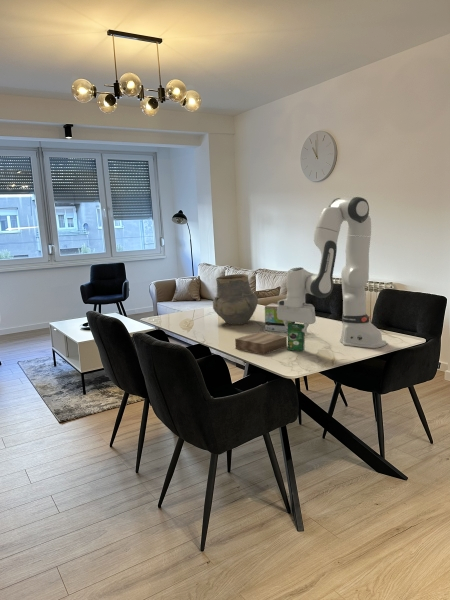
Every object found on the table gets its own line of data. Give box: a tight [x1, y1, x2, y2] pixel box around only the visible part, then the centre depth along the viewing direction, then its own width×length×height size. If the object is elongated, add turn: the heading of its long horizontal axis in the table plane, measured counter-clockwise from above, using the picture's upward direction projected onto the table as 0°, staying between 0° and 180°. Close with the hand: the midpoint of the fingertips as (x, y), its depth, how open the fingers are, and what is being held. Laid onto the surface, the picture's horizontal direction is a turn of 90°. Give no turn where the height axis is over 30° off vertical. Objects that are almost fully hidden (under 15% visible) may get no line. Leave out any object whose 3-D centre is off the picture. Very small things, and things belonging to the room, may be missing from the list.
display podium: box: [234, 331, 288, 355], centre depth 226 cm, size 18×18×5 cm
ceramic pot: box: [212, 273, 259, 326], centre depth 286 cm, size 28×28×30 cm
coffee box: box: [287, 322, 306, 352], centre depth 217 cm, size 8×3×13 cm, turn 65°
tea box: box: [264, 302, 296, 334], centre depth 261 cm, size 15×10×15 cm
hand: (295, 330), depth 217 cm, fingers open, 8 cm apart
